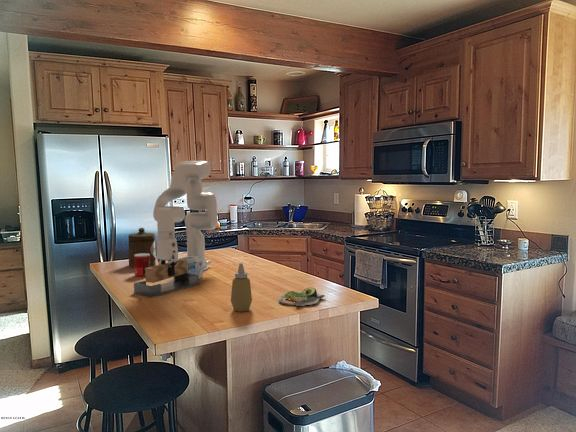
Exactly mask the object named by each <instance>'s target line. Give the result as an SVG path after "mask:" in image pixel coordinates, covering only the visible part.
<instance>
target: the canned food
mask: <svg viewBox="0 0 576 432" xmlns="http://www.w3.org/2000/svg"><path fill="white" fill-rule="evenodd" d="M134 266H135V268H134V276H135V277H138V278H142V277H143V278H146V277H145V268H148V267H150V254H148V253H140V254H135V255H134Z"/></svg>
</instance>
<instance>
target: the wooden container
mask: <svg viewBox="0 0 576 432" xmlns="http://www.w3.org/2000/svg"><path fill="white" fill-rule="evenodd" d="M127 236H128V266H129V267H131V268H134V269H135V266H134V255H135V254H140V253H148V254H150V267H152V266H156V261H157V259H156V255H157V252H156V234H155V233H154V232H152V233H151V232H146V231H145V228H144V227H139V228H138V232H136V233H130V234H128V235H127Z"/></svg>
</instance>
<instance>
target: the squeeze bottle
mask: <svg viewBox="0 0 576 432" xmlns="http://www.w3.org/2000/svg"><path fill="white" fill-rule="evenodd" d="M251 289H252V287H251V280H250V278H249V277H248V272H247V271H245V267H244V263H243V262H240V263H239V264H238V270H237V271H236V272H235V273H234V278H233V279H232V283H231V294H230V303H231V306H232V308H233V311H235V312H248V311H249V310H250V308H251V306H252V305H251V304H252V302H253V298H252V295H253V294H252V290H251Z"/></svg>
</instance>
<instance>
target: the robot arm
mask: <svg viewBox="0 0 576 432" xmlns="http://www.w3.org/2000/svg"><path fill="white" fill-rule="evenodd" d="M211 171H212V167H211V163H209V161H207V160H185V161H183V160H182V161H179V163H178V164H176V166H175V168H174V170H173V174H172V178H171V182H170V185H169V187H168V188H166V190H164V191H163V192H161V194H160V195H159V196H158V197H157V199H156V201H155V203H154V208H153V213H152V217H153V218H154V219H153V220H155V222H156V228H157V229H156V230H157V240H156V261H157V262H158V265H160V264H164V263H168V264H169V267H168V276H173V275H175V265H176V263H177V262H178V261H179V249H178V248H179V247H178V242H177V238H176V231H175V230H176V229H175V227H176V226H175V223H181V222H183V221H184V225H185V229H186V252H187V256H186V257H189V256H193V255H194V256H200V257H203V272H204V271H206V270H209V266H208V265H210V264H212V260H210V259H209V260H206V247H205V245H206V244H205V235H204V233H202V231H213V230H215V229H216V228H217V226H218V206H217V205H218V203H217V197H216V195H215V194H214V193H213V192H203V183H202V180H205V179H207V178H208V177H209V176H210V175H211ZM185 195H186V206H187V208H188V209H189V210H192V211H206V212H190V213H189V212H188V213H187V214H186V211H185V208H183V207H181V206H175V205H174V206H171V205H169V206H168V205H167V204H168V203H169V202H172V201H174V200H176V199H179V198H181V197H183V196H185ZM171 262H172V263H171Z"/></svg>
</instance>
